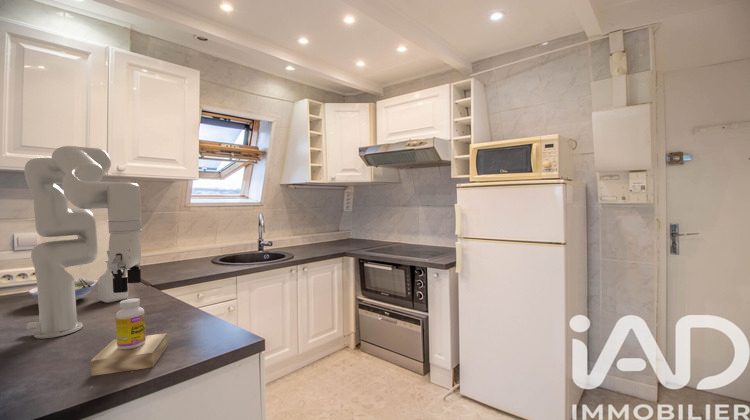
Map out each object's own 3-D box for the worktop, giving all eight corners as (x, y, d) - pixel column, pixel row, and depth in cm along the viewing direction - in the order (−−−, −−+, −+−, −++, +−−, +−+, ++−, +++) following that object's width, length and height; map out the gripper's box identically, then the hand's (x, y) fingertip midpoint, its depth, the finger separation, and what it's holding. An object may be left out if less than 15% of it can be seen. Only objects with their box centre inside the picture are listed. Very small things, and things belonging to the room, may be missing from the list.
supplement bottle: (131, 351, 95) (128, 304, 94) (111, 349, 96) (108, 303, 96) (151, 341, 101) (149, 297, 101) (132, 339, 103) (130, 296, 102)
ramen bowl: (29, 302, 157) (28, 284, 157) (94, 291, 173) (93, 275, 173) (29, 315, 139) (27, 295, 139) (101, 302, 155) (100, 283, 155)
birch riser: (91, 375, 90) (90, 360, 90) (114, 352, 104) (113, 339, 103) (152, 367, 94) (152, 352, 94) (167, 345, 108) (167, 333, 107)
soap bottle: (130, 298, 160) (127, 249, 158) (105, 304, 151) (102, 252, 150) (121, 295, 165) (118, 247, 164) (96, 301, 157) (93, 251, 156)
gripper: (122, 224, 104) (124, 280, 105) (94, 230, 88) (97, 297, 89) (151, 223, 106) (153, 278, 107) (128, 230, 90) (131, 295, 91)
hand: (127, 287), depth 98 cm, fingers open, 9 cm apart
